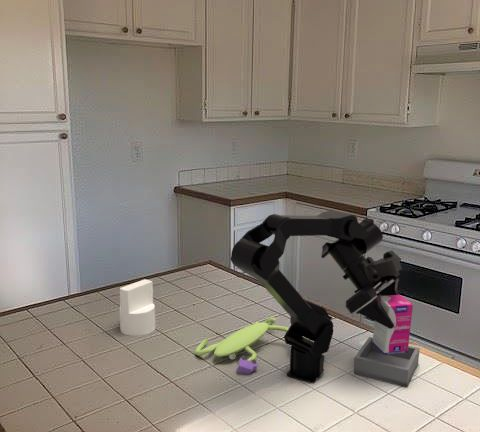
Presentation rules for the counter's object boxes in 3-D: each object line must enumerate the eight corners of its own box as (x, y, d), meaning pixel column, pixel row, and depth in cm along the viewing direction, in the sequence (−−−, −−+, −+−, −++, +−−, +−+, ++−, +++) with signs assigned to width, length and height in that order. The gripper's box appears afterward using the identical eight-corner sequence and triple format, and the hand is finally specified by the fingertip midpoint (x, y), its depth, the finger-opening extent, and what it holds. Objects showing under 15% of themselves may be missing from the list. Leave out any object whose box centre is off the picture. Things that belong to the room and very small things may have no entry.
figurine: (323, 353, 130) (324, 331, 128) (229, 385, 115) (229, 361, 114) (276, 326, 145) (276, 306, 143) (187, 351, 130) (187, 329, 129)
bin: (353, 373, 120) (354, 357, 119) (368, 352, 129) (369, 336, 129) (407, 387, 114) (408, 370, 113) (418, 364, 124) (419, 348, 123)
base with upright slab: (136, 339, 135) (135, 293, 133) (113, 329, 141) (111, 285, 138) (162, 327, 142) (161, 283, 140) (139, 318, 148) (137, 276, 145)
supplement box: (384, 356, 115) (388, 305, 113) (371, 343, 121) (375, 295, 118) (409, 353, 117) (413, 303, 114) (395, 341, 122) (399, 293, 120)
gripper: (362, 253, 108) (414, 317, 105) (393, 232, 123) (439, 288, 120) (325, 282, 114) (372, 344, 111) (359, 259, 129) (401, 312, 126)
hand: (398, 320), depth 117 cm, fingers closed on supplement box, 8 cm apart
